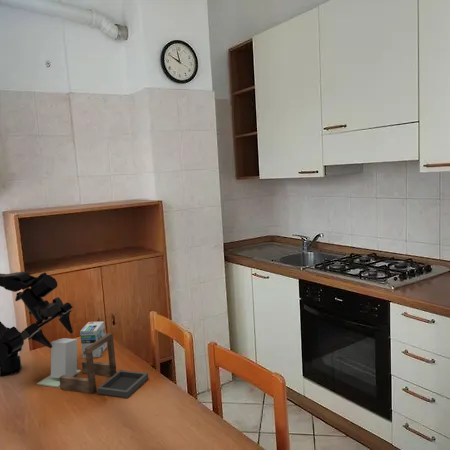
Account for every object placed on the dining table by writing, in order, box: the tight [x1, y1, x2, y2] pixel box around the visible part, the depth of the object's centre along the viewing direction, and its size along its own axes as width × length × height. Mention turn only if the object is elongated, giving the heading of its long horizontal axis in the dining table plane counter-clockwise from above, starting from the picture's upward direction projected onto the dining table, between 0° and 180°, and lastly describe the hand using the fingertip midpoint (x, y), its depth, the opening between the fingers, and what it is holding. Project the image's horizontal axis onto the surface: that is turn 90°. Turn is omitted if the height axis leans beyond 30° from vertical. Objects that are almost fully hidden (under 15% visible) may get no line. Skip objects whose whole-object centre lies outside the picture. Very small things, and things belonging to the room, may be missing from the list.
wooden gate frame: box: [59, 332, 118, 394], centre depth 151 cm, size 13×13×15 cm
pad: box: [37, 369, 82, 388], centre depth 157 cm, size 8×12×1 cm
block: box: [50, 337, 78, 378], centre depth 156 cm, size 6×6×12 cm
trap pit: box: [96, 369, 150, 399], centre depth 147 cm, size 11×13×2 cm
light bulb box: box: [79, 321, 108, 359], centre depth 176 cm, size 11×7×11 cm, turn 179°
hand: (61, 340), depth 158 cm, fingers open, 9 cm apart
